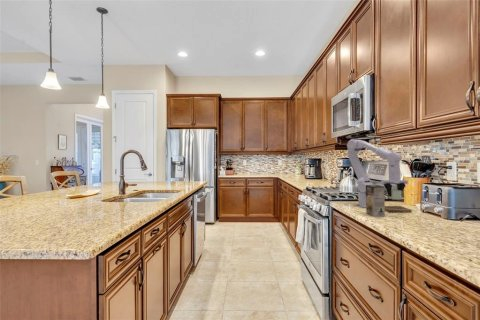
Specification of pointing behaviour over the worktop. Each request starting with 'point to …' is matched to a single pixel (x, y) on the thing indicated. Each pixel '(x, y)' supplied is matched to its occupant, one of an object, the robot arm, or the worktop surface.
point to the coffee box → (375, 200)
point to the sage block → (395, 194)
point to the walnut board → (397, 209)
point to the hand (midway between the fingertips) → (394, 196)
